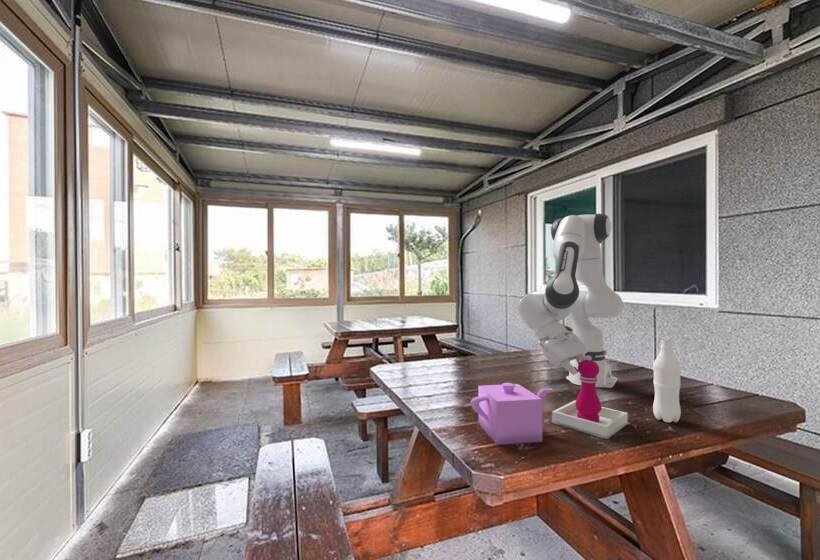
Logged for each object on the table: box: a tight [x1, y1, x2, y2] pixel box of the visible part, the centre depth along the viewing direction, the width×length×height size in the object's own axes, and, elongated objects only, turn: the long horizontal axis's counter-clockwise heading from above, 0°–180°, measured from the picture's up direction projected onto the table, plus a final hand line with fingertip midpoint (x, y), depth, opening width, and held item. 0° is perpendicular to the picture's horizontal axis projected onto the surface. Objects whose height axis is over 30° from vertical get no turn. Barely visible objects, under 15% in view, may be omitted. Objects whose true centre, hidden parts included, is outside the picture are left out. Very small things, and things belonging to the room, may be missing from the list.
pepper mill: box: [575, 355, 602, 423], centre depth 116 cm, size 7×7×20 cm
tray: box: [551, 399, 628, 440], centre depth 115 cm, size 16×16×4 cm
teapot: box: [470, 382, 553, 446], centre depth 109 cm, size 15×25×14 cm, turn 99°
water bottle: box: [652, 339, 682, 424], centre depth 118 cm, size 7×7×25 cm
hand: (582, 370), depth 117 cm, fingers open, 8 cm apart
